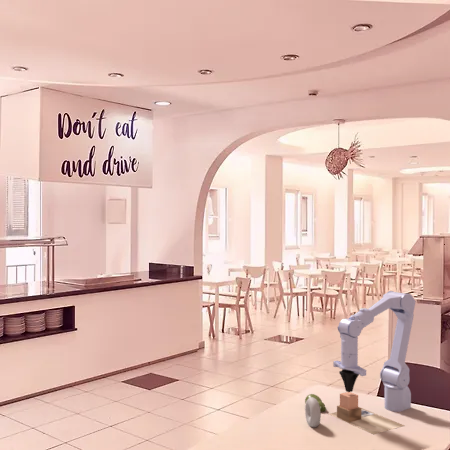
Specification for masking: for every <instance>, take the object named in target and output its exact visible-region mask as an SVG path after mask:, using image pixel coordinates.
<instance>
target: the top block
mask: <svg viewBox="0 0 450 450" xmlns="http://www.w3.org/2000/svg"><path fill="white" fill-rule="evenodd" d="M339 405H340V407H343V408H345V409H347V410H351V409H355V408H358V407H359V395H358V394H357V393H354V392H347V391H345V392H342V393H339Z"/></svg>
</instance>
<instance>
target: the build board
mask: <svg viewBox="0 0 450 450" xmlns="http://www.w3.org/2000/svg"><path fill="white" fill-rule="evenodd" d="M360 408H361V419H360V420H357V421H353V422H347V421H344V420H342V419H340V418H338V417H337V411H335V412H332V413H331V412H330V413H328V415H329V416H332V417H334V418H336V419H338V420H341V421H342V422H345V423H347V424H349V425H352V426H353V427H356V428H358V429H360V430H362V431H365V432H367V433H369V434H371V435H377V434H381V433H384V432H387V431H391V430H395V429H398V428H401V427H405V425H404V424H402V423H400V422H397V421H394V420H392V419H390V418H387V417H385V416H383V415H380V414H378V413H375V412H372V411H370V410H368V409H366V408H363V407H360Z"/></svg>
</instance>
